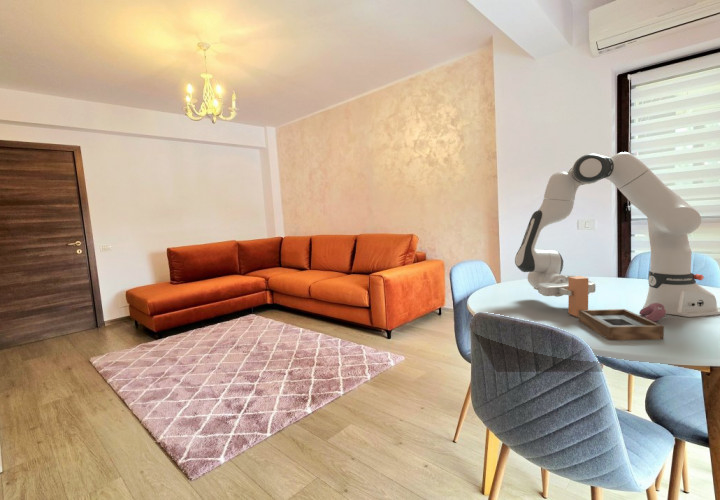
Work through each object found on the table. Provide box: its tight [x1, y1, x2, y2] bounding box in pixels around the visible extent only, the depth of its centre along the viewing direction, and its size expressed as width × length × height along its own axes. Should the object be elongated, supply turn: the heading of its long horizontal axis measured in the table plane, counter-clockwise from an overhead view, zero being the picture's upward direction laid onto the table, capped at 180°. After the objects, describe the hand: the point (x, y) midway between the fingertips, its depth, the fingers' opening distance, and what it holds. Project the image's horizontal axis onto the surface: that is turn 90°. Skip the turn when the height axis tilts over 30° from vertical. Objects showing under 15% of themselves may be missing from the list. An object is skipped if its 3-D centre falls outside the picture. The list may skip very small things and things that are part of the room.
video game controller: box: [638, 302, 667, 323], centre depth 118 cm, size 10×5×7 cm, turn 149°
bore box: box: [578, 308, 665, 341], centre depth 111 cm, size 15×18×4 cm
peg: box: [567, 275, 589, 318], centre depth 126 cm, size 4×4×14 cm
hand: (579, 292), depth 125 cm, fingers closed on peg, 4 cm apart
